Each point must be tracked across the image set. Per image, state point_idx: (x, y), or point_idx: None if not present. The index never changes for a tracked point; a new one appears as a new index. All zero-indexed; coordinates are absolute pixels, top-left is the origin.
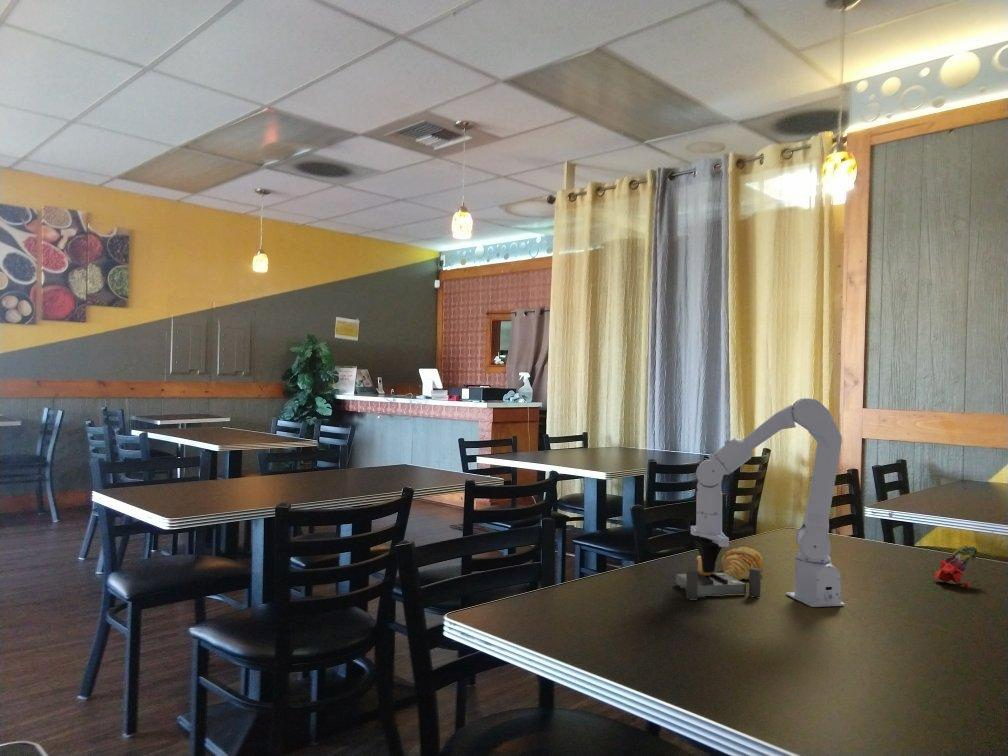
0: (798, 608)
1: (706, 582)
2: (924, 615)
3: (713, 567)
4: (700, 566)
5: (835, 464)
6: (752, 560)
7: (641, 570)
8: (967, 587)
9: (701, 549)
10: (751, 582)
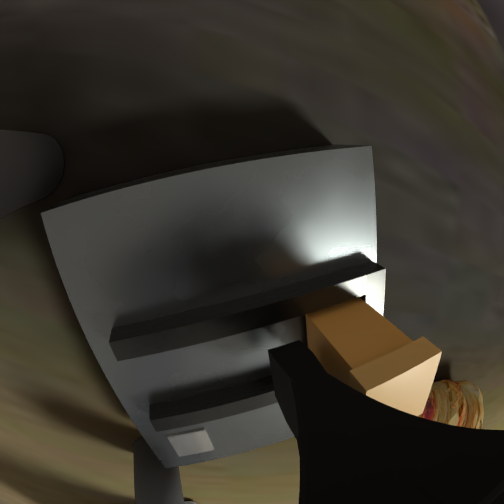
0: (66, 488)
1: (152, 312)
2: None
3: (287, 417)
4: (355, 337)
5: None
6: None
7: (499, 97)
8: None
9: (357, 491)
10: (141, 487)
